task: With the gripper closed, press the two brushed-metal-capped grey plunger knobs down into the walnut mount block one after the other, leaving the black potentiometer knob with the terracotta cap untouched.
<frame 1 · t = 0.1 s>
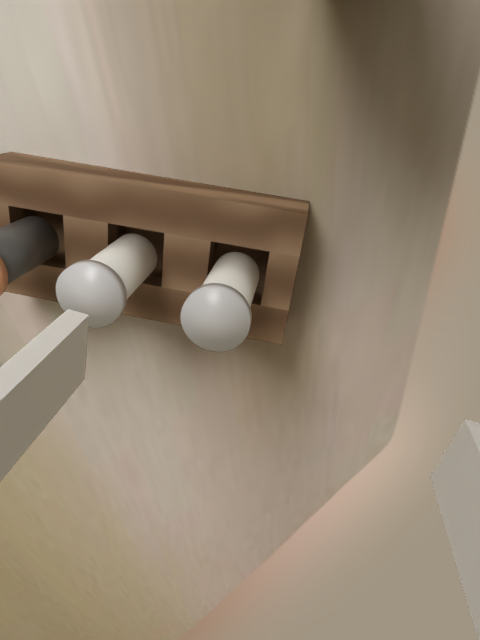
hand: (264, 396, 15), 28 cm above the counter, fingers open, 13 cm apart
mount: (153, 239, 43), on the counter
knob mid: (114, 274, 35), point 10 cm above the counter, slide at 0.0 cm
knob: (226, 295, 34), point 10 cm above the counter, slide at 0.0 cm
pot knob: (6, 254, 36), point 9 cm above the counter, slide at 0.0 cm
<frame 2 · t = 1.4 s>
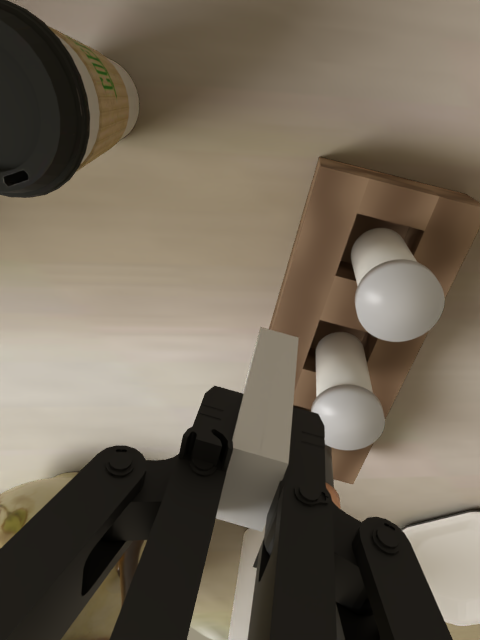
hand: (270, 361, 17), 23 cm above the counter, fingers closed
coffee cup: (103, 100, 36), on the counter
mount: (336, 325, 42), on the counter
knob mid: (343, 383, 34), point 10 cm above the counter, slide at 0.0 cm
plate: (463, 561, 55), on the counter
pitcher: (91, 500, 59), on the counter
milk: (276, 530, 56), on the counter
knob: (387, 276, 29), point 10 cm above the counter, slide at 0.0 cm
pot knob: (308, 467, 38), point 10 cm above the counter, slide at 0.0 cm
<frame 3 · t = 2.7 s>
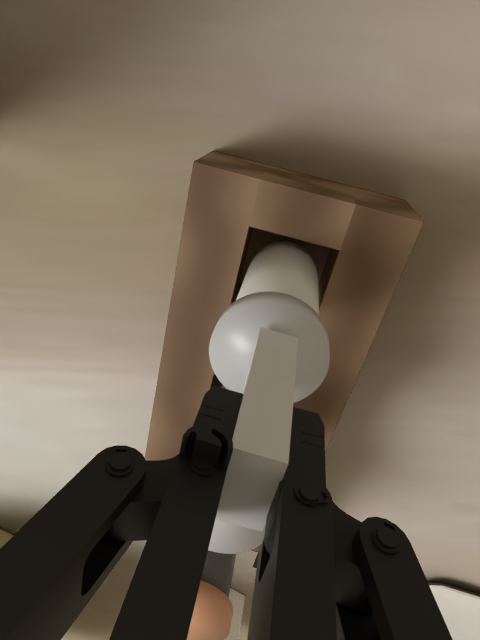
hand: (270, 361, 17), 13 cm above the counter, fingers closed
mount: (255, 363, 34), on the counter
knob mid: (234, 452, 25), point 10 cm above the counter, slide at 0.0 cm
plate: (428, 635, 46), on the counter
milk: (207, 593, 48), on the counter
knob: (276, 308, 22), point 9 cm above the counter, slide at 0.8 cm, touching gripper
pot knob: (205, 550, 29), point 10 cm above the counter, slide at 0.0 cm
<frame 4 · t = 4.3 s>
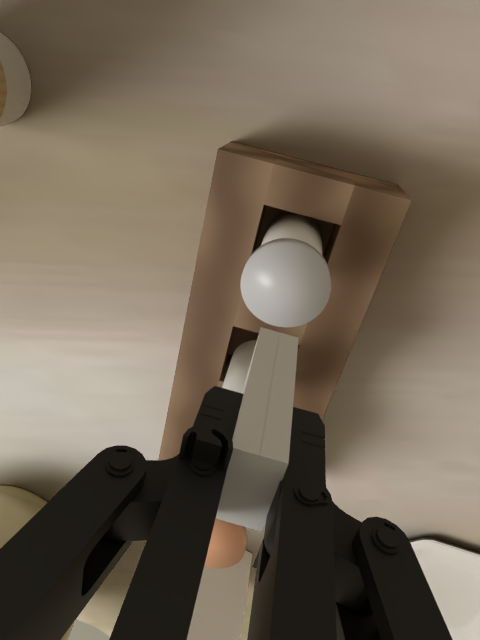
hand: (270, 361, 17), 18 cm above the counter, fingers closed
mount: (265, 331, 38), on the counter
knob mid: (249, 399, 29), point 9 cm above the counter, slide at 0.0 cm
plate: (420, 591, 50), on the counter
pitcher: (23, 515, 55), on the counter
milk: (218, 552, 52), on the counter
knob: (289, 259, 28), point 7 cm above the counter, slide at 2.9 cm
pot knob: (222, 491, 34), point 10 cm above the counter, slide at 0.0 cm
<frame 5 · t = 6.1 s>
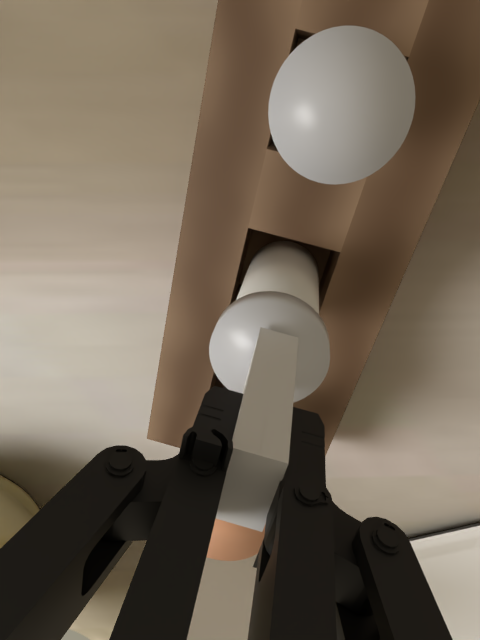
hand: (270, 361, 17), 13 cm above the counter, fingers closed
mount: (286, 253, 29), on the counter
knob mid: (277, 308, 22), point 8 cm above the counter, slide at 1.2 cm, touching gripper
plate: (469, 589, 42), on the counter
milk: (224, 544, 43), on the counter
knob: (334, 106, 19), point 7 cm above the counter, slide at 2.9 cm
pot knob: (233, 457, 25), point 9 cm above the counter, slide at 0.0 cm
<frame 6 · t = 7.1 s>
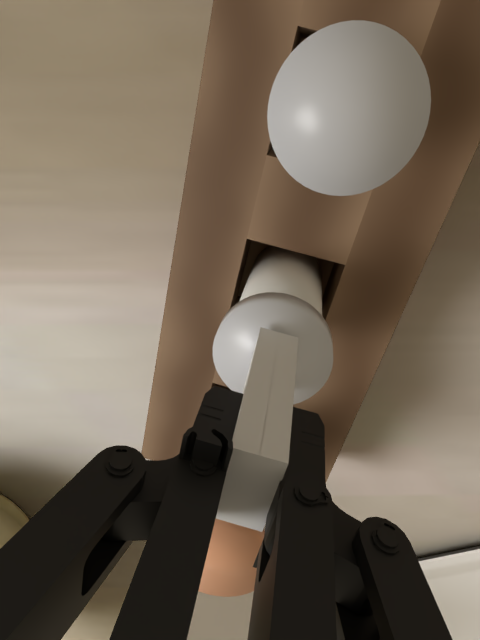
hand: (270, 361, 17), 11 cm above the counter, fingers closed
mount: (288, 264, 27), on the counter
knob mid: (280, 309, 22), point 7 cm above the counter, slide at 2.9 cm
plate: (478, 610, 40), on the counter
milk: (222, 561, 42), on the counter
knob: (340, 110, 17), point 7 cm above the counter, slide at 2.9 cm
pot knob: (231, 482, 23), point 9 cm above the counter, slide at 0.0 cm
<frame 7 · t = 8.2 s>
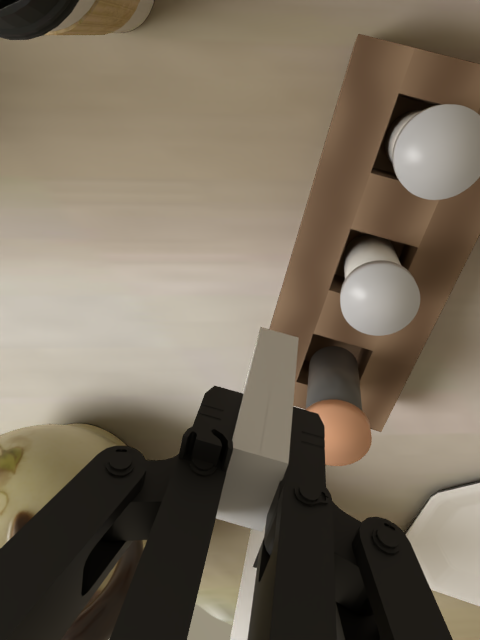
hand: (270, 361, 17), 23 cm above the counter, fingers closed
mount: (367, 250, 38), on the counter
knob mid: (373, 276, 32), point 7 cm above the counter, slide at 2.9 cm
pitcher: (95, 457, 55), on the counter
milk: (292, 494, 52), on the counter
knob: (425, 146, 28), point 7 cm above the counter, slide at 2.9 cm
pot knob: (333, 398, 34), point 9 cm above the counter, slide at 0.0 cm
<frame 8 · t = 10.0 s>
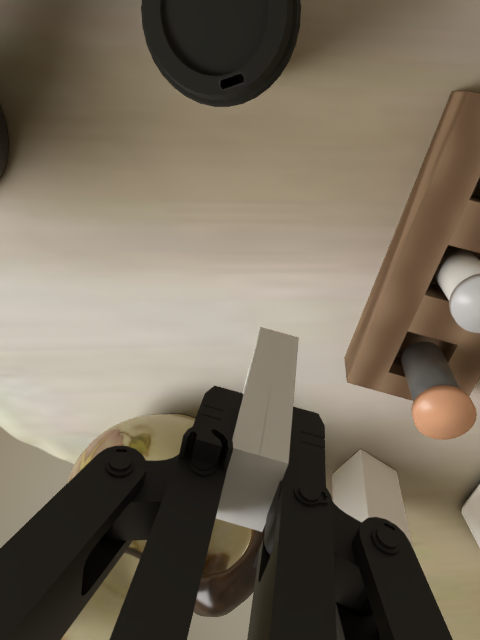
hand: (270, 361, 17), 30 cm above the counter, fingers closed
coffee cup: (249, 40, 39), on the counter
mount: (448, 259, 45), on the counter
knob mid: (468, 284, 39), point 7 cm above the counter, slide at 2.9 cm
pitcher: (184, 443, 62), on the counter
milk: (363, 471, 59), on the counter
pot knob: (432, 385, 41), point 9 cm above the counter, slide at 0.0 cm
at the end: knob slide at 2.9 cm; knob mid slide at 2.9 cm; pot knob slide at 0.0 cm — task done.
